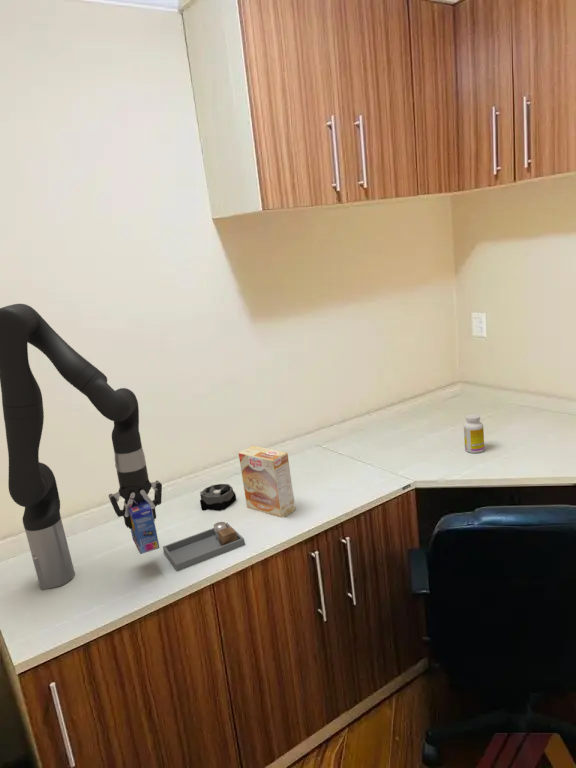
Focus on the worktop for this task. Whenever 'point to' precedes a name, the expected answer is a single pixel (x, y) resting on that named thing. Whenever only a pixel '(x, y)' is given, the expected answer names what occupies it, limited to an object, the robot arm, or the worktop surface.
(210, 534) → the parts tray
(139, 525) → the ink cartridge box
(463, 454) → the worktop surface
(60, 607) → the worktop surface
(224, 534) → the walnut block part
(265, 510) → the coffeecake box
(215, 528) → the metal ball part
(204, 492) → the cpu cooler
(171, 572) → the worktop surface
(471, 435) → the supplement bottle
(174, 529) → the worktop surface
